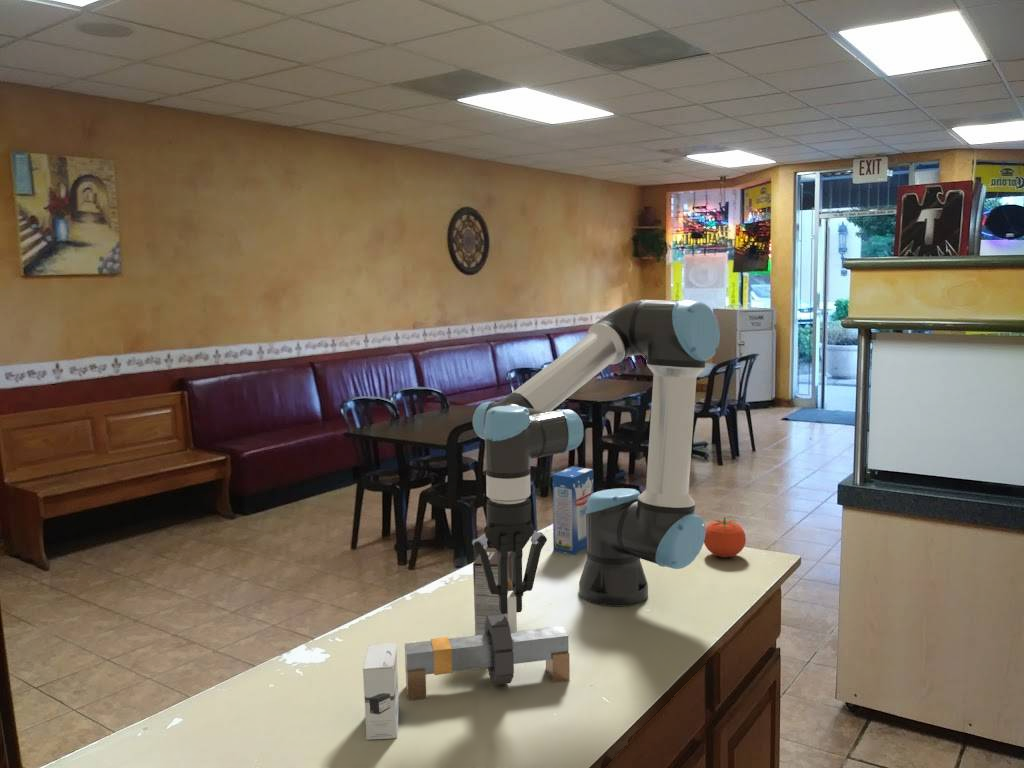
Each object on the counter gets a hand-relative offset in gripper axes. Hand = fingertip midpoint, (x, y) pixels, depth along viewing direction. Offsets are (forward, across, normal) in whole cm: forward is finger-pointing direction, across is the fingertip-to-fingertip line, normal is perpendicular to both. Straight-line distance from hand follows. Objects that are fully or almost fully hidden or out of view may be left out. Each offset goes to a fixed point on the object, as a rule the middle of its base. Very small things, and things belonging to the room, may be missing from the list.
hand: (510, 629), depth 139 cm
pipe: (+9, +4, 0) cm, 10 cm away
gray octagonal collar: (+9, +2, 0) cm, 10 cm away
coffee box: (+10, -1, -19) cm, 21 cm away
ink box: (+10, +23, +8) cm, 26 cm away
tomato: (+9, -64, -47) cm, 80 cm away
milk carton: (+9, -30, -63) cm, 70 cm away
